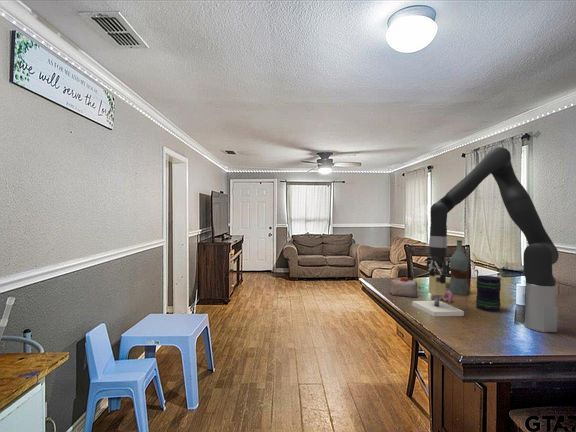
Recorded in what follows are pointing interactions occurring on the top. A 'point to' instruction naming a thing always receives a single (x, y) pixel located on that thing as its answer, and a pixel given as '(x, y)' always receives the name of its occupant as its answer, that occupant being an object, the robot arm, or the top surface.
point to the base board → (437, 308)
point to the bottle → (459, 271)
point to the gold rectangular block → (436, 285)
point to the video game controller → (447, 296)
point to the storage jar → (488, 293)
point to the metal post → (436, 300)
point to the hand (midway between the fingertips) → (437, 281)
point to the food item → (404, 287)
